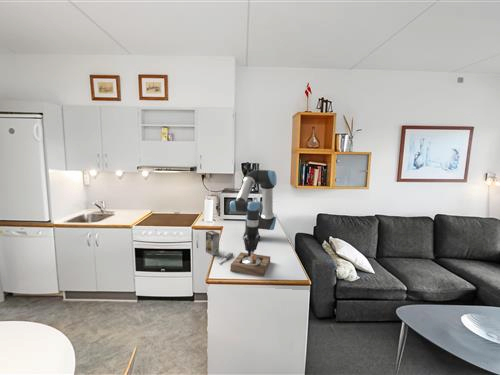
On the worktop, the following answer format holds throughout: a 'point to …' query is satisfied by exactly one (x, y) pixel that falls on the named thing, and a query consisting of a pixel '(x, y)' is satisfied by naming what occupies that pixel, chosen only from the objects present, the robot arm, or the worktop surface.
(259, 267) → the housing
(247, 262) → the dial
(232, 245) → the worktop surface
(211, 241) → the coffee box
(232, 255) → the screwdriver
